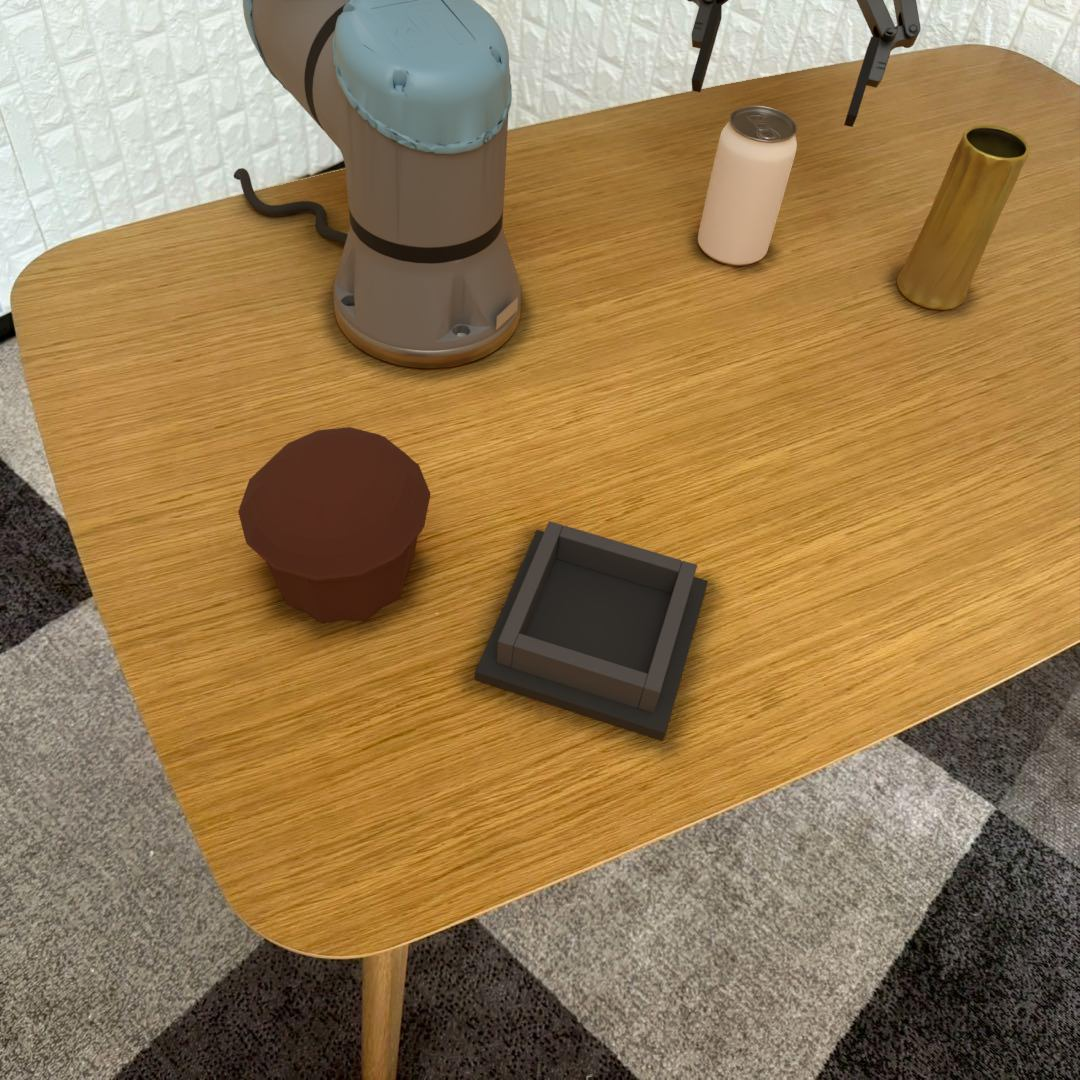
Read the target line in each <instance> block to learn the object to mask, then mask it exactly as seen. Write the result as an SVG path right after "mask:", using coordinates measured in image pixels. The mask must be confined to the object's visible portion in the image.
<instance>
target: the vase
mask: <svg viewBox="0 0 1080 1080" xmlns="http://www.w3.org/2000/svg"><path fill="white" fill-rule="evenodd" d="M1030 153H1031V148H1030V144H1029V142H1028V141H1027V139H1026V138H1024V136H1022V135H1021V134H1020V133H1018V132H1016V131H1014V130H1012V129H1009V128H1007V127H1005V126H1000V125H995V124H974V125H972V126H969V127H968V128H967V129H965V131H964V132H963V133H962V136H961V138H960V140H959V142H958V144H957V146H956V149H955V151H954V153H953V156H952V158H951V159H950V160H951V161H950V163H949V164H948V168H947V170H946V173H945V175H944V177H943V179H942V181H941V185H940V187H939V188H938V191H937V193H936V196H935V198H934V200H933V203H932V205H931V207H930V210H929V212H928V215H927V216H926V219H925V220H924V223H923V226H922V228H921V229H920V231H919V234H918V236H917V237H916V240H915V242H914V244H913V246H912V248H911V250H910V252H909V254H908V257H907V259H906V260H905V262H904V265H903V267H902V269H901V271H900V272H899V273H898V275H897V277H896V284H897V288H898V290H899V292H900V293H901V294H902V295H903V296H904V297H905V299H907V300H908V301H910V302H912V303H913V304H915V305H918V306H919V307H922V308H925V309H930V310H934V311H935V310H936V311H937V310H938V311H947V310H949V311H950V310H953V309H956V308H958V307H959V306H961V305H962V304H963V303H964V302H965V300H966V298H967V295H968V290H969V287H970V285H971V283H972V280H973V278H974V276H975V273H976V271H977V269H978V267H979V264H980V263H981V260H982V258H983V255H984V253H985V251H986V248H987V246H988V244H989V241H990V239H991V236H992V234H993V232H994V230H995V228H996V225H997V224H998V222H999V219H1000V216H1001V214H1002V212H1003V210H1004V208H1005V206H1006V204H1007V202H1008V201H1009V198H1010V196H1011V193H1012V192H1013V189H1014V187H1015V185H1016V183H1017V181H1018V178H1019V176H1020V173H1021V171H1022V170H1023V166H1024V164H1025V162H1027V160H1028V158H1029V155H1030Z"/></svg>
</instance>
